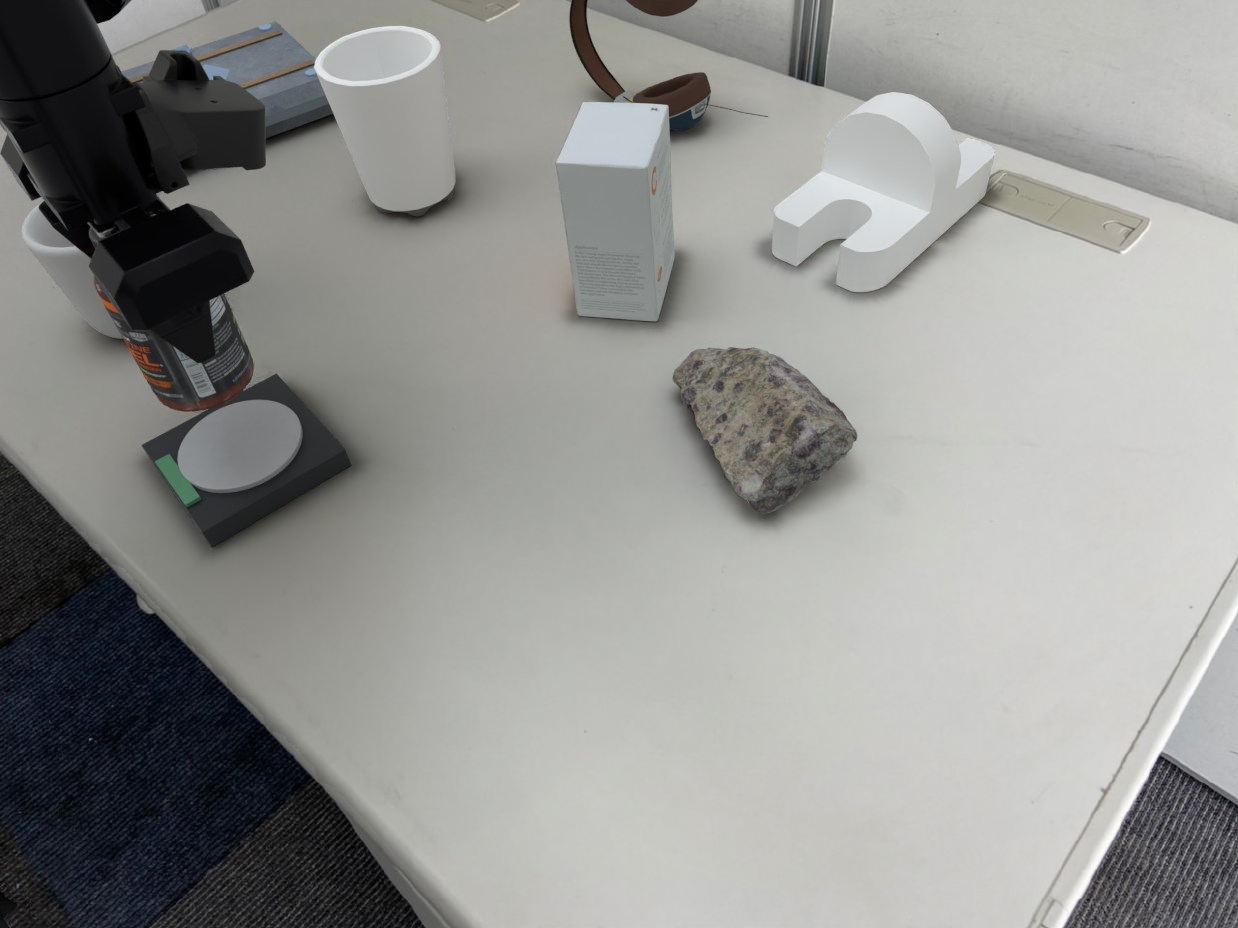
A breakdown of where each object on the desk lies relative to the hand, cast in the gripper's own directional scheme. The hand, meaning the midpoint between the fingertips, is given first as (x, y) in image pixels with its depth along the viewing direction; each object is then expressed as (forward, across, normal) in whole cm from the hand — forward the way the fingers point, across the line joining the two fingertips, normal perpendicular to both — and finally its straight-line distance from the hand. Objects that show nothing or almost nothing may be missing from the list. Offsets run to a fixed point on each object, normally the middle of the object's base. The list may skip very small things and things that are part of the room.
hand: (184, 332), depth 56 cm
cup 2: (+12, +20, -25) cm, 34 cm away
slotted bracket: (+12, -11, -50) cm, 52 cm away
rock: (+12, -20, -26) cm, 35 cm away
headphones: (+12, +13, -48) cm, 51 cm away
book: (+12, +46, -18) cm, 51 cm away
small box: (+12, -3, -30) cm, 32 cm away
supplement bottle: (+4, 0, 0) cm, 4 cm away
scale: (+12, +1, 0) cm, 12 cm away
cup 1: (+12, +23, -1) cm, 26 cm away
